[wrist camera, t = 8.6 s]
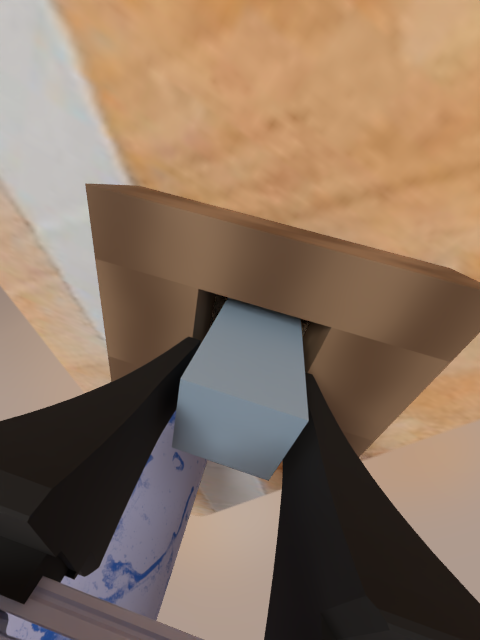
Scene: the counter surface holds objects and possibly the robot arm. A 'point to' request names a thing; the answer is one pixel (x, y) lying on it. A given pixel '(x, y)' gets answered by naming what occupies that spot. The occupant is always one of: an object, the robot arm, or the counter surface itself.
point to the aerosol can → (140, 538)
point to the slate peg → (244, 390)
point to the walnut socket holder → (278, 298)
